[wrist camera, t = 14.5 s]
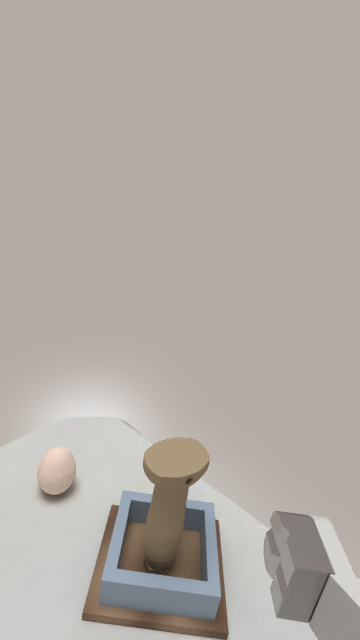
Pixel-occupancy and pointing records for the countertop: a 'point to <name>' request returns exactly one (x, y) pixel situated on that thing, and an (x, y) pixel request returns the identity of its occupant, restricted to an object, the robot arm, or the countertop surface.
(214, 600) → the square frame
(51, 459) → the egg
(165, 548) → the handle
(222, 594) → the board
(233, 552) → the countertop surface
